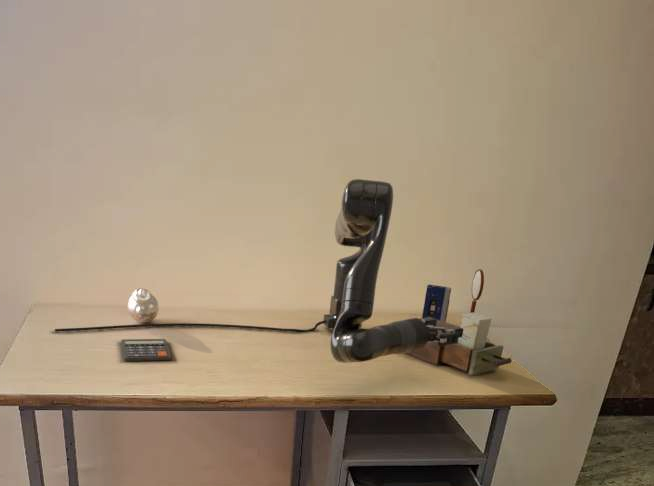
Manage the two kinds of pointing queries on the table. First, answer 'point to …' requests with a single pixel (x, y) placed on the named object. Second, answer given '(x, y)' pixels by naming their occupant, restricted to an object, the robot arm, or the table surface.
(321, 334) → the table surface
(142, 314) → the silver rounded lump
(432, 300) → the cassette player
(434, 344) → the cabinet
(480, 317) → the cosmetic box
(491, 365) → the drawer
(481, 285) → the magnifying glass
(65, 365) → the table surface
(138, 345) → the calculator
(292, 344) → the table surface
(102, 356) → the table surface
